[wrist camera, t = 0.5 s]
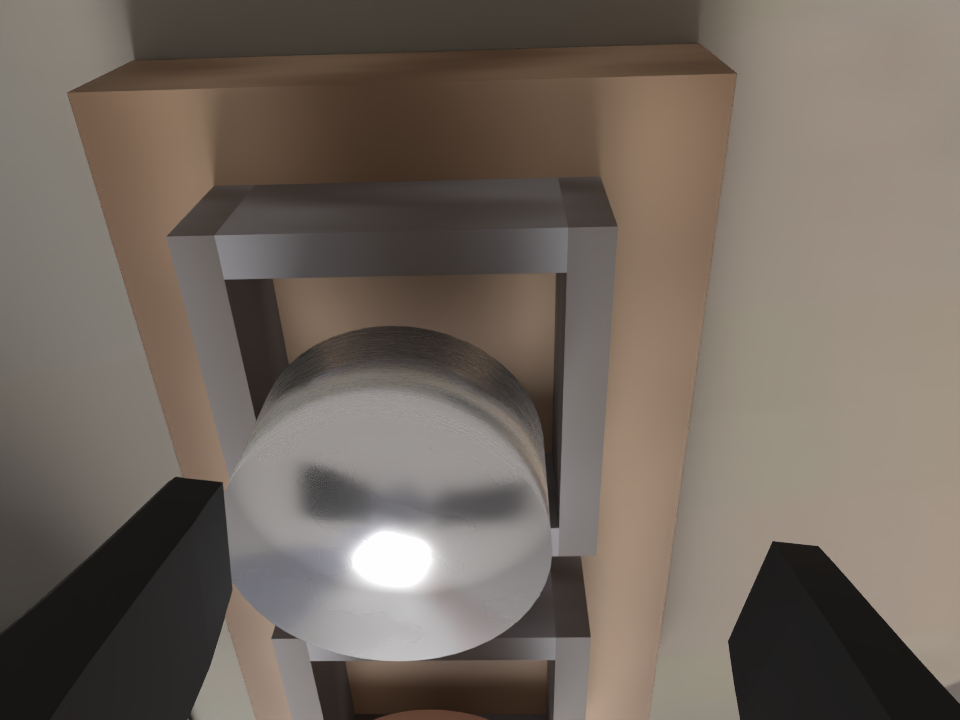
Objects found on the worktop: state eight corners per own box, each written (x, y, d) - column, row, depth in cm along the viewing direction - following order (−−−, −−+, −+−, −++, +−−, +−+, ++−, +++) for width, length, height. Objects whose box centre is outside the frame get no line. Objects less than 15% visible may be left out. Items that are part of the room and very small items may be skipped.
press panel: (290, 682, 28) (247, 845, 23) (133, 59, 17) (-10, 130, 12) (629, 680, 27) (656, 847, 22) (699, 43, 16) (781, 108, 11)
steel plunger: (285, 552, 15) (251, 661, 13) (235, 328, 12) (181, 419, 10) (542, 550, 15) (550, 660, 13) (546, 322, 12) (555, 414, 10)
